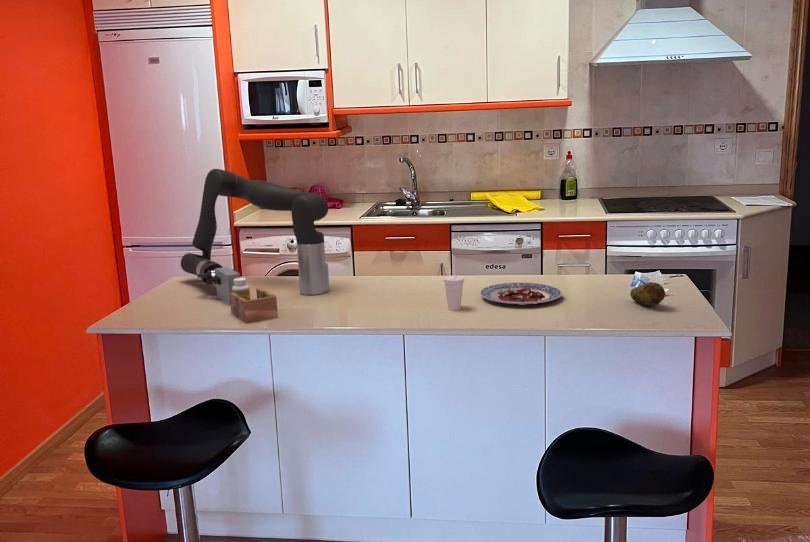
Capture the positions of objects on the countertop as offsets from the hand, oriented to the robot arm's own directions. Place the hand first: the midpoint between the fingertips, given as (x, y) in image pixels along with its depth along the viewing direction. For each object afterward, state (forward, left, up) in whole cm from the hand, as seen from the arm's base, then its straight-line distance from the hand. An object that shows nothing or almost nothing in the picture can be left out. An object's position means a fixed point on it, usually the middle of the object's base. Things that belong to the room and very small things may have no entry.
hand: (226, 280), depth 246 cm
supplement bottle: (0, +13, -7) cm, 15 cm away
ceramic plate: (-76, +59, -7) cm, 96 cm away
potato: (-99, +90, -7) cm, 134 cm away
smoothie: (-52, +56, -7) cm, 77 cm away
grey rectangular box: (0, +1, -7) cm, 7 cm away
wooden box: (0, +23, -7) cm, 24 cm away
